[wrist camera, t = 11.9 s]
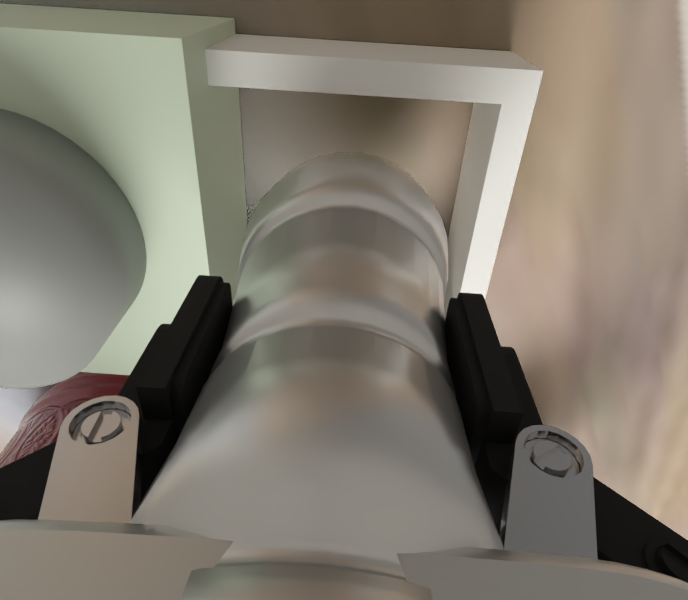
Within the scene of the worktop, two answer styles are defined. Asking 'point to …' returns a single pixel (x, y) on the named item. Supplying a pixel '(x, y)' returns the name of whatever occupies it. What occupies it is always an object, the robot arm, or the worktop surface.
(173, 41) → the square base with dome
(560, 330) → the worktop surface
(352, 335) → the silver bottle
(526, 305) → the worktop surface
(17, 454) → the canister
